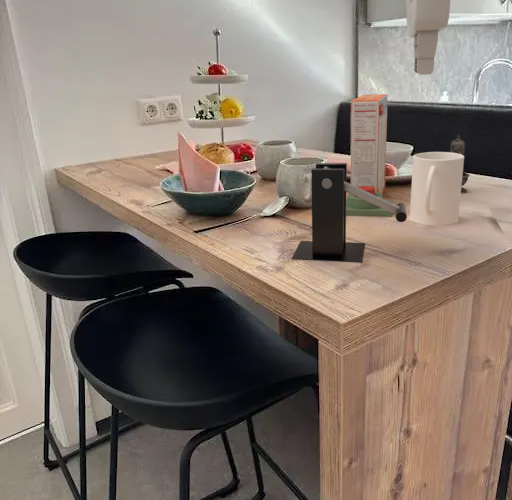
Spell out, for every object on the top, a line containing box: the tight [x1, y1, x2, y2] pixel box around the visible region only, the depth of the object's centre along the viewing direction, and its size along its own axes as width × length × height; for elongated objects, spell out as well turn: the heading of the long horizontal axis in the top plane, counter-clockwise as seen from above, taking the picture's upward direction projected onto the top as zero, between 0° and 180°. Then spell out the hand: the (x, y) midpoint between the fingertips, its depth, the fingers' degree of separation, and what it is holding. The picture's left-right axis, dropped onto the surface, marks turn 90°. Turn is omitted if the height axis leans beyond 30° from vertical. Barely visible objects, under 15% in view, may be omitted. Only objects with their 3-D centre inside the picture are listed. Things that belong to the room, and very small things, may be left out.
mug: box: [408, 151, 465, 226], centre depth 85 cm, size 12×8×12 cm
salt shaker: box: [449, 134, 471, 194], centre depth 107 cm, size 6×6×12 cm
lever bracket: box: [291, 162, 366, 264], centre depth 73 cm, size 10×8×14 cm
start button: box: [355, 186, 375, 197], centre depth 93 cm, size 4×4×2 cm
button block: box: [346, 192, 393, 218], centre depth 94 cm, size 10×8×4 cm
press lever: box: [323, 166, 408, 223], centre depth 70 cm, size 13×5×2 cm, turn 75°
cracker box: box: [350, 93, 388, 195], centre depth 103 cm, size 14×6×21 cm, turn 161°
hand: (422, 73), depth 63 cm, fingers open, 8 cm apart
